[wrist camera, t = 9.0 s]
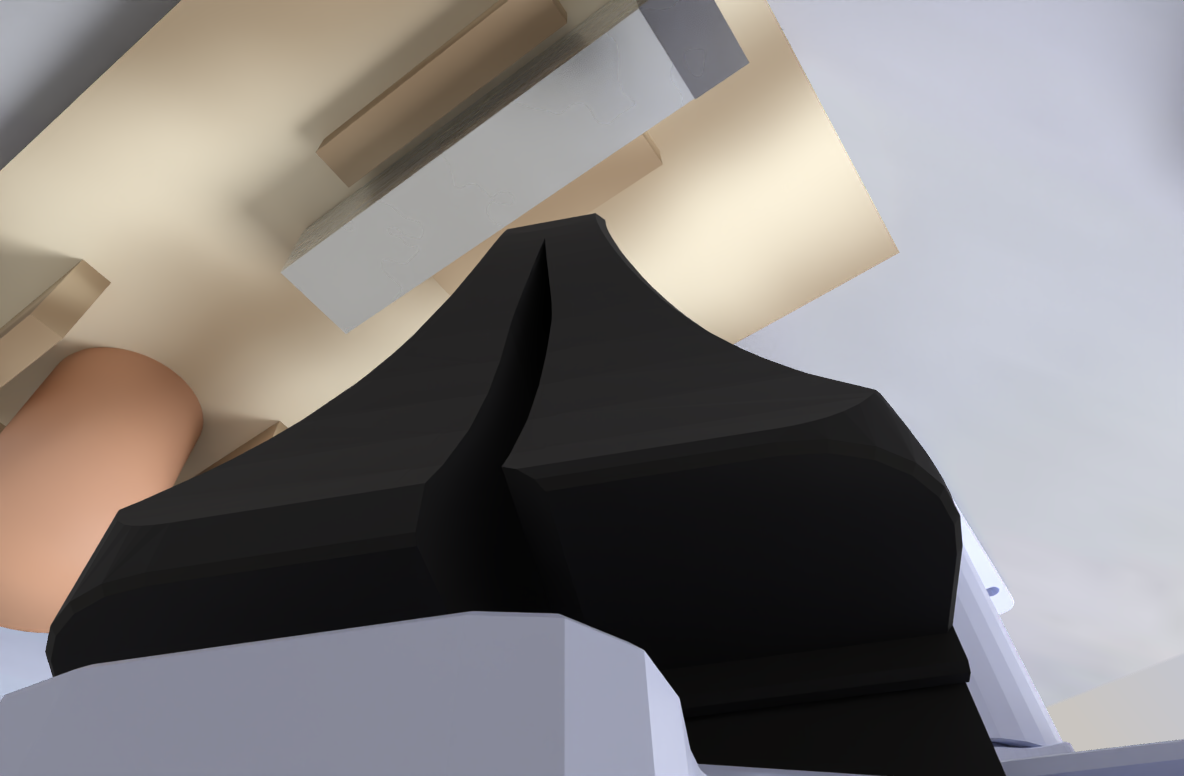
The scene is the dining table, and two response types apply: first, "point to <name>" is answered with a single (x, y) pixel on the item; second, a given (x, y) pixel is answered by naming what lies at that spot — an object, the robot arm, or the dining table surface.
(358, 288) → the lock pin
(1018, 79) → the dining table surface
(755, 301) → the dock
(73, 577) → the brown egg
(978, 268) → the dining table surface
